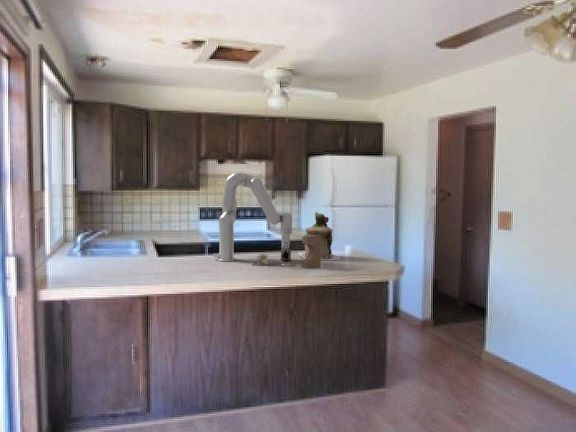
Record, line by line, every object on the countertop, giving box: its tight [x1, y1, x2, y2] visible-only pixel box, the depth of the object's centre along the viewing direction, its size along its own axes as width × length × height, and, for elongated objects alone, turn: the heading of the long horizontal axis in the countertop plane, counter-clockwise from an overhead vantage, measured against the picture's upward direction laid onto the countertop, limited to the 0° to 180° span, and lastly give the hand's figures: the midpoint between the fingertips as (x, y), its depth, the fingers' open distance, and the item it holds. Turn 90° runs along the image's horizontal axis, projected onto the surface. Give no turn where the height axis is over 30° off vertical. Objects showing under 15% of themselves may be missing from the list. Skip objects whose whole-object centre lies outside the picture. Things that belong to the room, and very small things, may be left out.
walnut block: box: [280, 248, 292, 261], centre depth 331 cm, size 6×6×6 cm
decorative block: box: [301, 235, 321, 269], centre depth 310 cm, size 11×6×20 cm, turn 127°
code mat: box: [251, 262, 297, 267], centre depth 318 cm, size 28×12×1 cm, turn 90°
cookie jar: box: [297, 211, 341, 262], centre depth 344 cm, size 25×25×32 cm
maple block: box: [256, 253, 269, 265], centre depth 317 cm, size 6×6×6 cm
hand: (285, 257), depth 331 cm, fingers closed on walnut block, 6 cm apart
